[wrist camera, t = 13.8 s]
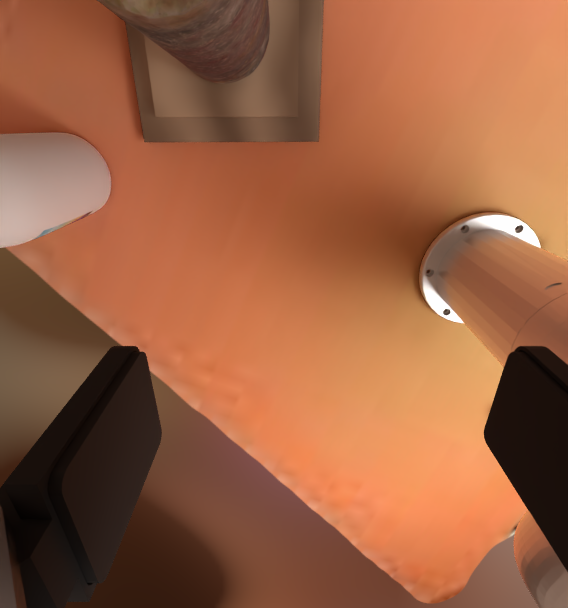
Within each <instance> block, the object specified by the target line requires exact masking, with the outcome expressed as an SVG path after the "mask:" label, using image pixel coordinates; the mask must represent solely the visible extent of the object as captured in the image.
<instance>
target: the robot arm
mask: <svg viewBox="0 0 568 608" xmlns="http://www.w3.org/2000/svg"><path fill="white" fill-rule="evenodd" d="M462 226H463V228H462V229H461V227H462ZM427 270H429V271H428V272H426V271H427ZM419 284H420V289H421V293H422V295H423V297H424V299H425V301H426V302H427V304H428V305H429V306H430V307H431V309H432V310H433V311H434V312H435V313H437V314H438V315H439V316H441V317H443V318H445V319H447V320H450V321H453V322H458V323H465V325H466V326H467V327H468V328H469V329H470V330H471V331H472V332H473V333H474V335H475V336H476V337H477V338H478V339H479V340H480V341H481V342H482V343H483V345H484V346H485V347H486V348H487V349H488V350H489V351H490V352H491V353H492V354H493V356H494V357H495V358H496V359H497V360H498V361H499V362H500V363H501V364H502V366H503V367H504V369H503V373H502V376H501V379H500V382H499V385H498V388H497V391H496V394H495V397H494V401H493V404H492V407H491V410H490V413H489V416H488V419H487V422H486V425H485V429H484V438H485V441H486V443H487V445H488V447H489V448H490V450H491V452H492V453H493V455H494V456H495V458H496V460H497V461H498V463H499V464H500V466H501V467H502V469H503V471H504V472H505V474H506V475H507V477H508V479H509V480H510V482H511V483H512V485H513V487H514V488H515V490H516V491H517V493H518V494H519V496H520V498H521V499H522V501H523V502H524V504H525V506H526V507H527V509H528V511H527V512H526V513H525V514H524V516H523V517H522V519H521V520H520V522H519V524H518V526H517V529H516V532H515V537H514V554H515V559H516V563H517V566H518V569H519V572H520V574H521V577H522V579H523V581H524V583H525V585H526V587H527V589H528V590H529V592H530V594H531V596H532V597H533V599H534V600H535V602H536V604H537V605H538V607H539V608H568V261H567V260H565V259H563V258H560V257H558V256H556V255H554V254H552V253H550V252H548V251H546V250H544V249H542V248H541V246H540V242H539V239H538V237H537V236H536V234H535V232H534V231H533V230H532V229H531V228H530V227H529V226H528V225H527V224H526V223H525V222H523V221H521V220H520V219H518V218H516V217H513V216H510V215H508V214H503V213H498V212H485V213H480V214H474V215H471V216H468V217H466V218H463V219H461V220H459V221H457V222H455V223H454V224H452V225H450V226H449V227H448V228H447V229H445V230H444V231H443V232H441V233H440V234H439V236H438V237H437V238H436V239H435V240H434V241H433V242H432V244H431V245H430V247H429V248H428V250H427V251H426V253H425V256H424V258H423V260H422V263H421V267H420V272H419ZM161 434H162V432H161V425H160V420H159V415H158V410H157V405H156V401H155V396H154V391H153V386H152V381H151V376H150V371H149V366H148V361H147V357H146V354H145V352H140V351H139V349H138V347H136V346H114V347H112V348H110V349H109V351H108V352H107V353H106V354H105V356H104V357H103V358H102V360H101V361H100V362H99V363H98V365H97V366H96V367H95V368H94V370H93V371H92V372H91V373H90V375H89V376H88V377H87V379H86V380H85V381H84V382H83V384H82V385H81V386H80V387H79V389H78V390H77V391H76V392H75V394H74V395H73V396H72V398H71V399H70V400H69V401H68V403H67V404H66V405H65V406H64V408H63V409H62V410H61V412H60V413H59V414H58V415H57V417H56V418H55V419H54V420H53V422H52V423H51V424H50V425H49V427H48V428H47V429H46V430H45V432H44V433H43V434H42V436H41V437H40V438H39V439H38V441H37V442H36V443H35V444H34V446H33V447H32V448H31V450H30V451H29V452H28V453H27V455H26V456H25V457H24V459H23V460H22V461H21V462H20V463H19V465H18V466H17V467H16V468H15V470H14V471H13V472H12V473H11V475H10V476H9V477H8V479H7V480H6V481H5V483H4V484H3V485H2V487H1V488H0V608H64V607H65V605H66V603H67V602H89V601H90V599H91V596H92V594H93V592H94V589H95V587H96V584H97V583H102V582H103V581H104V580H105V579H106V577H107V575H108V573H109V570H110V568H111V565H112V563H113V560H114V558H115V555H116V553H117V550H118V548H119V545H120V543H121V540H122V538H123V535H124V533H125V530H126V528H127V525H128V523H129V520H130V518H131V515H132V513H133V510H134V508H135V505H136V502H137V500H138V497H139V495H140V492H141V490H142V487H143V485H144V482H145V480H146V477H147V475H148V472H149V470H150V467H151V465H152V462H153V460H154V457H155V454H156V452H157V450H158V447H159V445H160V441H161Z"/></svg>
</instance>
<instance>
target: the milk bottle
mask: <svg viewBox="0 0 568 608" xmlns="http://www.w3.org/2000/svg"><path fill="white" fill-rule="evenodd" d="M110 192H111V176H110V172H109V169H108V166H107V164H106V162H105V160H104V158H103V157H102V156H101V154H100V153H99V152H98V151H97V150H96V148H95V147H93V146H92V145H91V144H90V143H89V142H87V141H86V140H84V139H82V138H80V137H78V136H76V135H73V134H69V133H59V132H50V133H15V134H0V248H2V247H10V246H14V245H19V244H22V243H25V242H28V241H31V240H33V239H36V238H39V237H41V236H43V235H46V234H48V233H50V232H53V231H55V230H57V229H59V228H62V227H64V226H66V225H68V224H71V223H73V222H75V221H77V220H79V219H82V218H84V217H86V216H88V215H90V214H92V213H94V212H96V211H98V210H99V209H101V208H102V207H103V206H104V205H105V203H106V202H107V200H108V198H109V195H110Z"/></svg>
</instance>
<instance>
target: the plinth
mask: <svg viewBox="0 0 568 608" xmlns="http://www.w3.org/2000/svg"><path fill="white" fill-rule="evenodd" d="M268 6H269V17H270V34H269V42H268V46H267V49H266V52H265V54H264V57H263V59H262V61H261V62H260V64H259V66H258V67H257V68H256V69H255V71H254V72H253V73H251V74H250V75H249V76H247V77H245V78H243V79H241V80H239V81H236V82H232V83H226V84H217V83H213V82H210V81H207V80H205V79H203V78H201V77H199V76H198V75H197V74H195V73H194V72H193V71H191V70H190V69H189V68H187V67H186V66H185V65H184V64H182V63H181V62H180V61H178V60H177V59H176V58H175V57H173V56H172V55H170V54H169V53H168V52H167V51H165V50H164V49H163V48H161V47H160V46H159V45H157V44H156V43H154V42H153V41H152V40H150V39H149V38H148V37H146V36H145V35H143V34H142V33H141V32H139V31H138V30H136V29H135V28H133V27H132V26H130V25H129V24H128V23H126V22H125V23H126V30H127V36H128V42H129V49H130V55H131V61H132V68H133V74H134V80H135V87H136V93H137V99H138V105H139V112H140V118H141V124H142V131H143V137H144V142H319V120H320V92H321V63H322V34H323V6H324V0H268Z"/></svg>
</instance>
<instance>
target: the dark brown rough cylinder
mask: <svg viewBox="0 0 568 608" xmlns="http://www.w3.org/2000/svg"><path fill="white" fill-rule="evenodd" d="M97 1H99V2H100V3H102V4H103V5H104V6H106V7H107V8H108V9H109V10H111V11H112V12H113V13H115V14H116V15H117V16H118V17H120V18H121V19H122V20H124V21H125V22H126V23H128V24H129V25H130V26H132V27H133V28H135V29H136V30H138V31H139V32H141V33H142V34H143V35H145V36H146V37H148V38H149V39H150V40H152V41H153V42H154V43H156V44H157V45H159V46H160V47H161V48H163V49H164V50H165V51H167V52H168V53H169V54H170V55H172V56H173V57H175V58H176V59H177V60H178V61H180V62H181V63H182V64H184V65H185V66H186V67H187V68H189V69H190V70H191V71H193V72H194V73H195V74H197V75H198V76H199V77H201V78H203V79H205V80H207V81H210V82H213V83H217V84H226V83H232V82H236V81H239V80H241V79H243V78H245V77H247V76H249V75H250V74H251V73H253V72H254V71H255V69H256V68H257V67H258V66H259V64H260V62H261V61H262V59H263V57H264V54H265V52H266V49H267V46H268V42H269V34H270V17H269V6H268V0H97Z"/></svg>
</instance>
